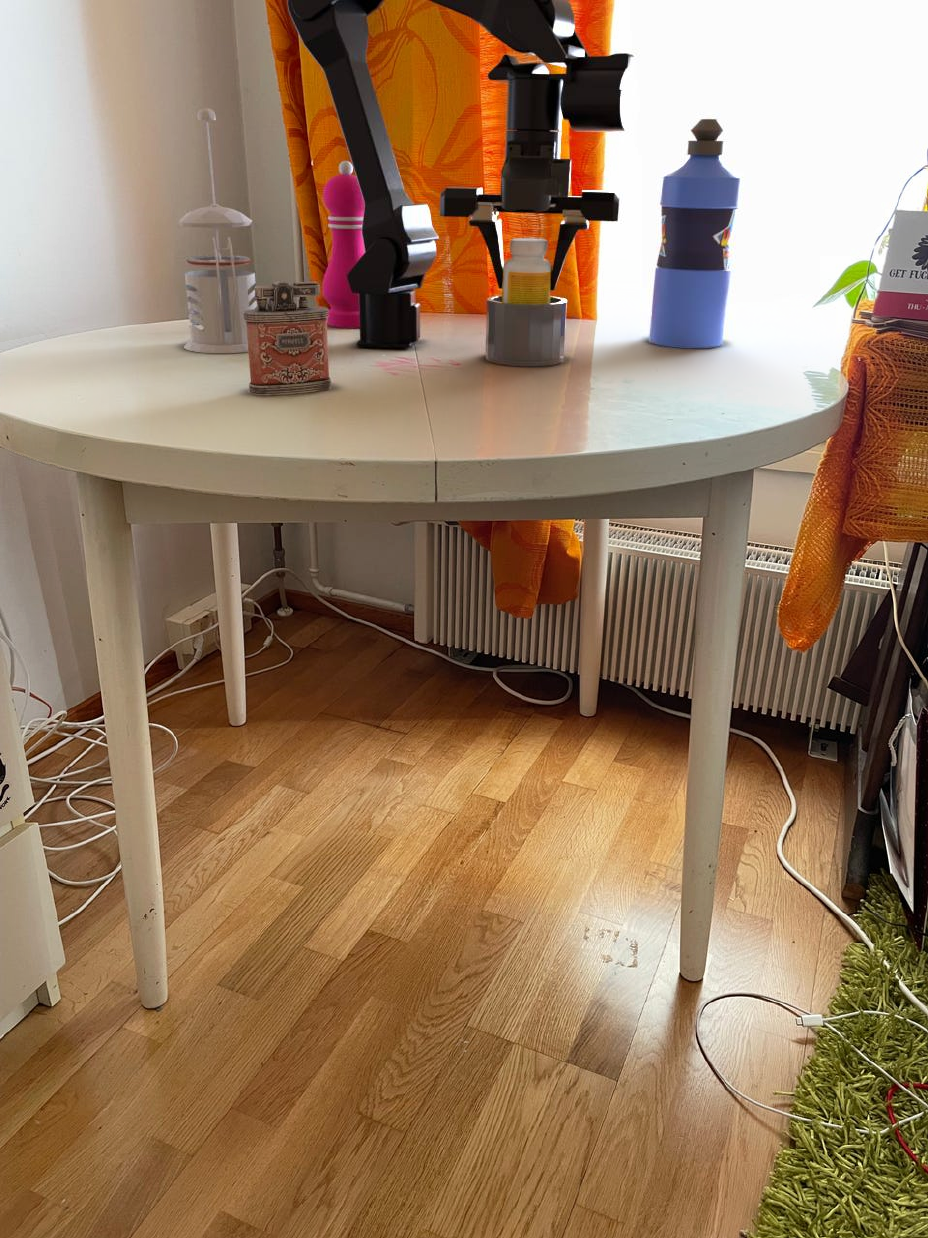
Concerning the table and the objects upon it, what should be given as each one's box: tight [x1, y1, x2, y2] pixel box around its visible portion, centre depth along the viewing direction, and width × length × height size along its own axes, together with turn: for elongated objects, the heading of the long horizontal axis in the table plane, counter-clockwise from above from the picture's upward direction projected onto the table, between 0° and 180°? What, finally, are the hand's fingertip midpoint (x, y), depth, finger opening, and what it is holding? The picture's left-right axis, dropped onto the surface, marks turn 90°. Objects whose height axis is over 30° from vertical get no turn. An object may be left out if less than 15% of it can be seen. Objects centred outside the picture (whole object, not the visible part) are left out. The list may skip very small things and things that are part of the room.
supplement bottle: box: [501, 237, 553, 304], centre depth 109 cm, size 5×5×10 cm
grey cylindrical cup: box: [485, 294, 568, 368], centre depth 111 cm, size 9×9×6 cm
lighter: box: [243, 280, 332, 396], centre depth 93 cm, size 8×3×10 cm, turn 117°
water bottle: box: [648, 118, 744, 349], centre depth 119 cm, size 9×9×25 cm
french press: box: [177, 107, 258, 354], centre depth 111 cm, size 10×12×25 cm
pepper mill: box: [321, 160, 365, 329], centre depth 129 cm, size 7×7×20 cm
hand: (526, 288), depth 109 cm, fingers closed on supplement bottle, 5 cm apart
